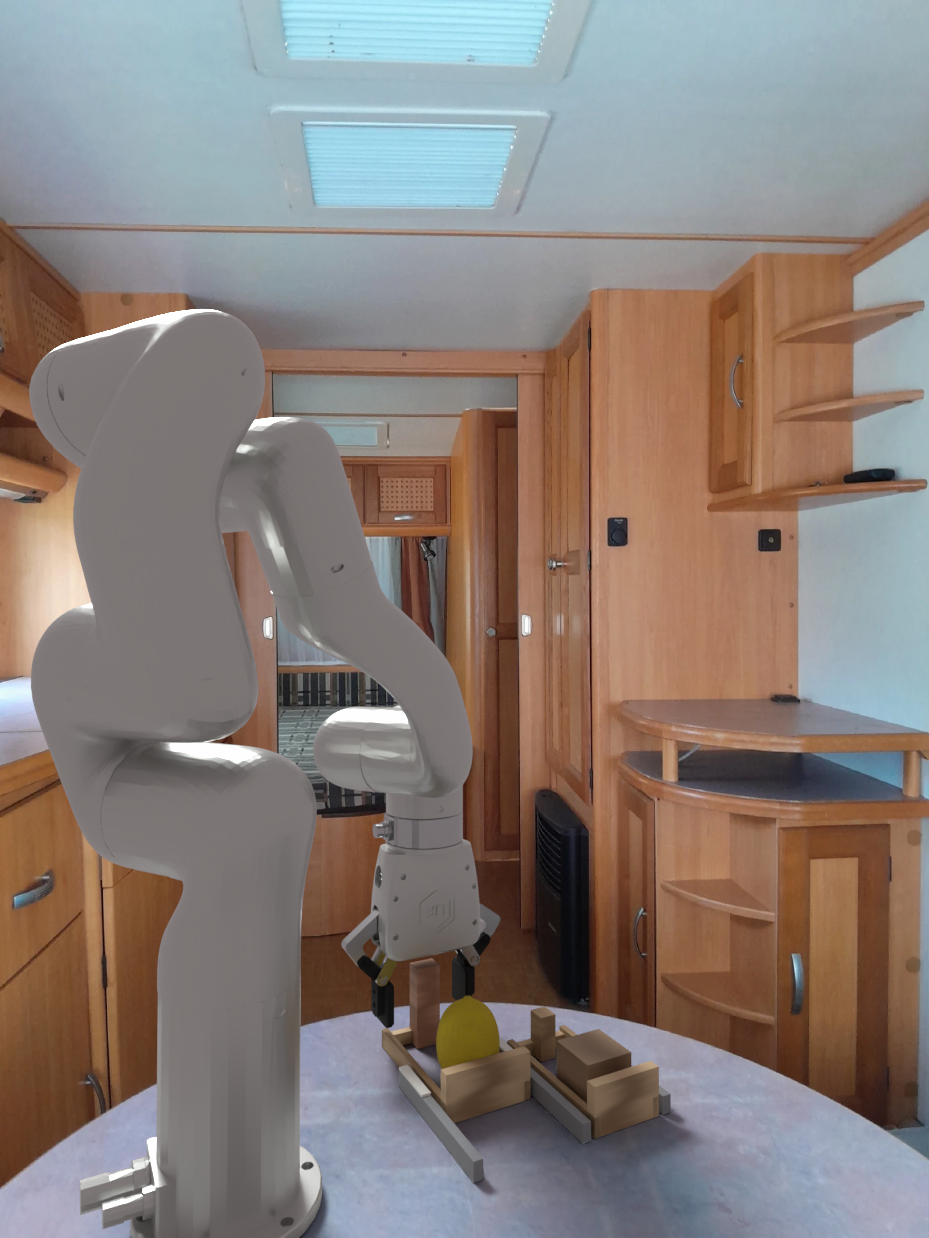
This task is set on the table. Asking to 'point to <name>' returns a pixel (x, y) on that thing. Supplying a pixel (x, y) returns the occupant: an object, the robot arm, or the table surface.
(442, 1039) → the lemon
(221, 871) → the robot arm
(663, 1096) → the rail right
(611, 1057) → the walnut cube
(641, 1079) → the cube
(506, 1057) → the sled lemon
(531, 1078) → the lane rails
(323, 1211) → the table surface
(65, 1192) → the table surface
